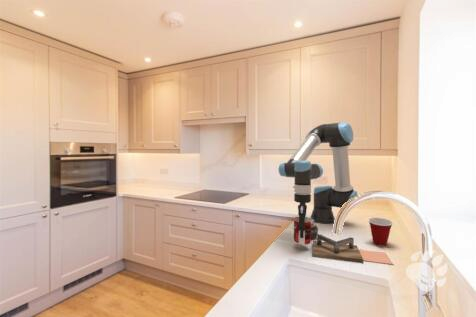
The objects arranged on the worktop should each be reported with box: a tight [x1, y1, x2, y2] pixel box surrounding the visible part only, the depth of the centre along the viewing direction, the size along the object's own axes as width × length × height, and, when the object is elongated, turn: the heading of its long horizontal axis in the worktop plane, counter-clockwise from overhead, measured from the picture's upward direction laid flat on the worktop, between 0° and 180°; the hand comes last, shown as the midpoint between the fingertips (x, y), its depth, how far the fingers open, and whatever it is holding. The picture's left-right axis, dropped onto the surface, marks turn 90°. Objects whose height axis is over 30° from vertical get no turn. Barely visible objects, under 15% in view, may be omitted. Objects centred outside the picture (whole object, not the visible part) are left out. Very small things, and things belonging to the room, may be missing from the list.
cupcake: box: [310, 217, 319, 241], centre depth 131 cm, size 10×10×10 cm
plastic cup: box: [367, 217, 394, 247], centre depth 121 cm, size 11×11×12 cm
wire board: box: [312, 233, 364, 264], centre depth 111 cm, size 16×20×6 cm
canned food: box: [293, 216, 312, 245], centre depth 116 cm, size 8×8×11 cm
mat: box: [359, 249, 394, 266], centre depth 106 cm, size 12×11×1 cm
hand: (302, 240), depth 116 cm, fingers closed on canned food, 8 cm apart
